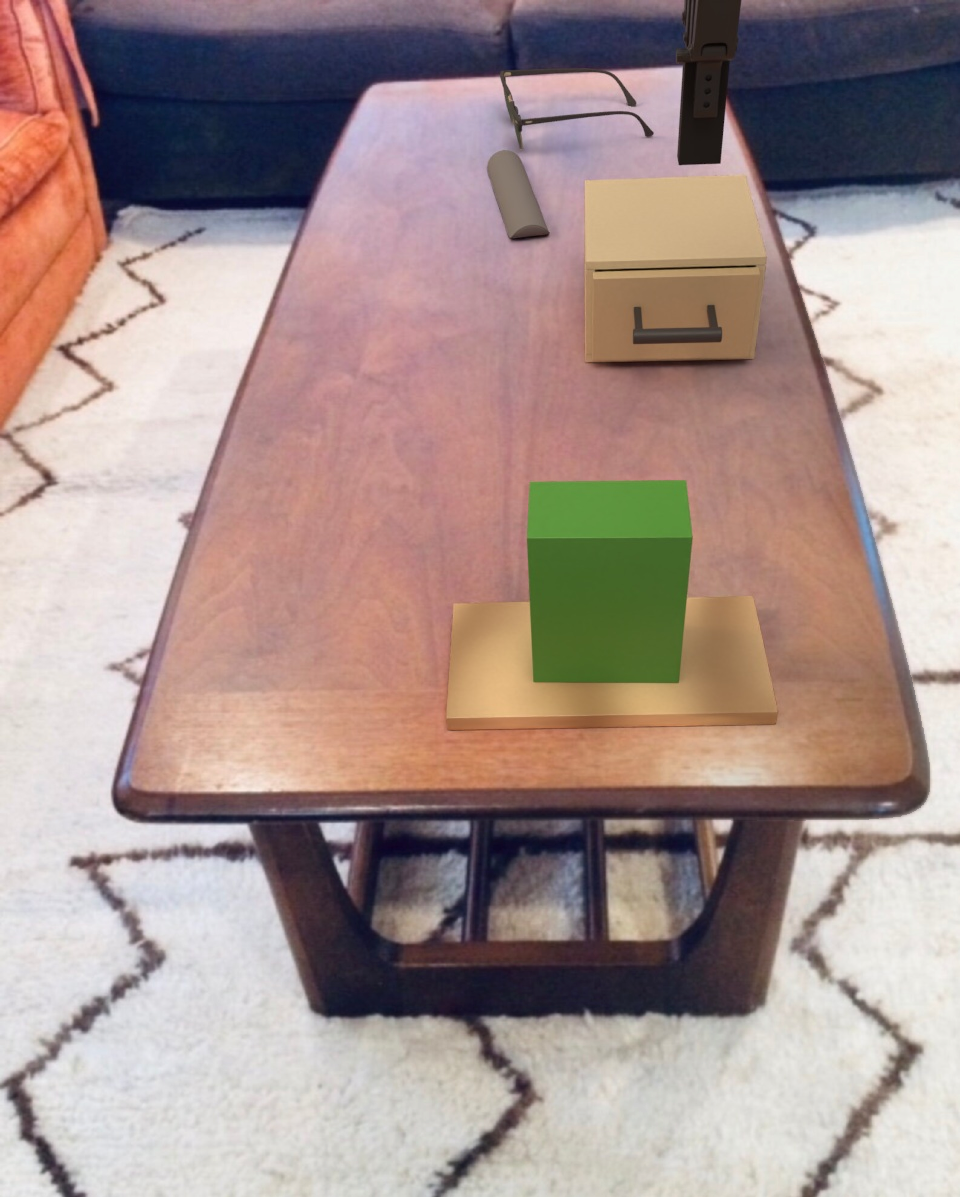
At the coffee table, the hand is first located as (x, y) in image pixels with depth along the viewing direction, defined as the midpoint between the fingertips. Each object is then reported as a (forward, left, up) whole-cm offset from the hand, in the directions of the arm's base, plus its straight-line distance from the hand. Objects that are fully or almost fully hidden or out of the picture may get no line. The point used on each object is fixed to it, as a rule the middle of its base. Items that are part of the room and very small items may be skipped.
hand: (698, 159), depth 72 cm
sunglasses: (+51, -38, -23) cm, 68 cm away
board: (-14, +22, -22) cm, 34 cm away
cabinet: (+14, -13, -22) cm, 29 cm away
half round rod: (+42, -20, -23) cm, 52 cm away
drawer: (+11, -10, -22) cm, 26 cm away
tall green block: (-13, +22, -21) cm, 33 cm away
